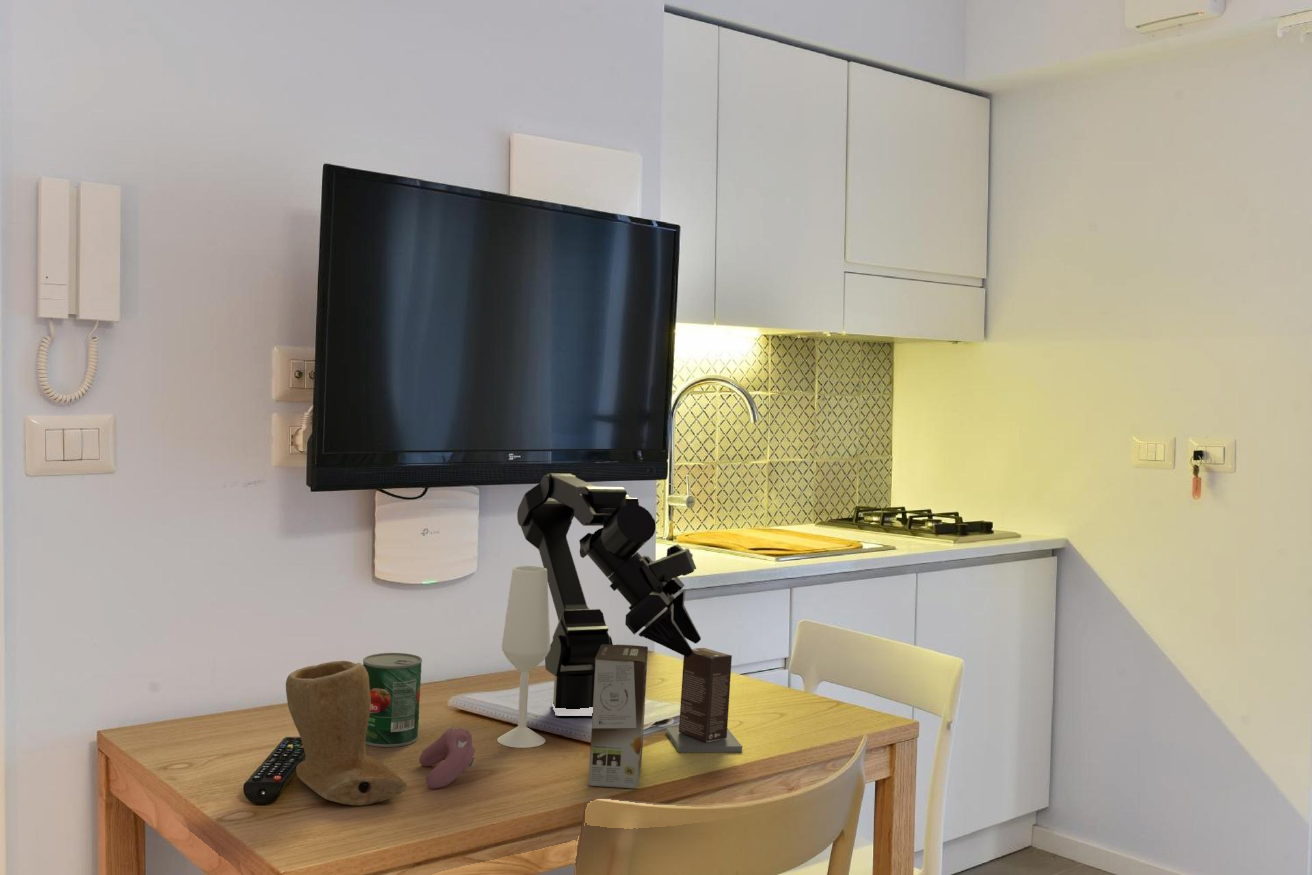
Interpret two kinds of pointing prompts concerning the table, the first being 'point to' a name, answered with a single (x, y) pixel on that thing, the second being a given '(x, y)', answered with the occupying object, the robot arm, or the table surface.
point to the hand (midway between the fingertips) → (694, 647)
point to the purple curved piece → (448, 757)
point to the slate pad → (702, 742)
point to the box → (705, 695)
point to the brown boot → (338, 734)
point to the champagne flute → (526, 641)
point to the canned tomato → (393, 699)
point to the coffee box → (618, 716)
